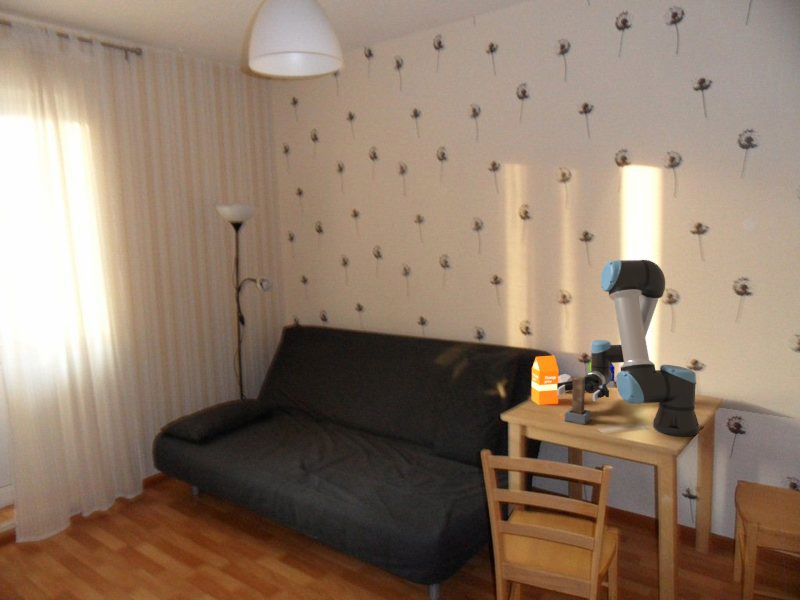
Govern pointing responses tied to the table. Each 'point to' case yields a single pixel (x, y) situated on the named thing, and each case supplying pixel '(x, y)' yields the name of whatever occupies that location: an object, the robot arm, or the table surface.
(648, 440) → the table surface
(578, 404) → the brown rectangular block
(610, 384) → the puzzle toy
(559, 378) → the crumpled paper ball
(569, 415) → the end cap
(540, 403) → the orange juice
